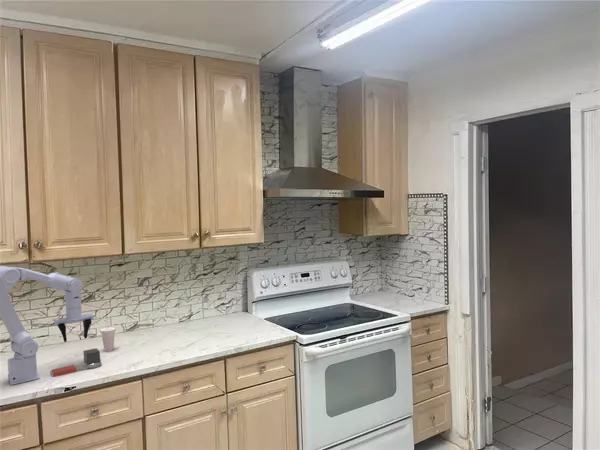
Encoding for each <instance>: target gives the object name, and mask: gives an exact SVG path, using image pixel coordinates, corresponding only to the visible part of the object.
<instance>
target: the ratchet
mask: <svg viewBox="0 0 600 450" xmlns="http://www.w3.org/2000/svg"><path fill="white" fill-rule="evenodd" d="M102 365H103V364H102V360H101V359H100V362H98V363H94V364H89V365H87V364H86V363H85V362H84V361H83V363H82V364H81V363H80V364H77V365H76V364H72V365H68V366H67V365H66V366H62V367H58V368H54V369H51V371H50V376H51V377H52V378H55V377H60V376H64V375H68V374H72V373H73V374H74V373H77V372H80V371H86V370H93V369H94V370H95V369H97V368H100V367H102Z"/></svg>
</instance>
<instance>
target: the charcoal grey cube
mask: <svg viewBox="0 0 600 450" xmlns="http://www.w3.org/2000/svg"><path fill="white" fill-rule="evenodd" d="M82 351H83V352H82V353H83V363H84V362H85V363H86V364H87V365H89V364H94V363H98V362H100V360H101V351H100V349H98V348H97V347H96V348H91V349H86V350H82Z"/></svg>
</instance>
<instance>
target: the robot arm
mask: <svg viewBox="0 0 600 450" xmlns="http://www.w3.org/2000/svg"><path fill="white" fill-rule="evenodd" d="M26 279H28V280H32V281H35V282H36V281H38V282H41V283H45V285H46V287H49V288H52V289H56V290H61V291H65V292H64V293H65V295H64V296H65V316H66V317H63V318H58V319H55V320H53V322H54V326H55V327H56V326H57V327H58V329H59V331H60V333H61V336H62V338H63V342H64V343H67V341H68V340H67V326H66V324H71V323H77V322H79V323H80V322H82V325H83V338H84V339H87V338H88V332H89V329H90V326H91V325H92V321H93V320H94V317H95V316H94V314H93V313H91V314H83V310H82V308H83V307H82V290H83V288H84V284H83V283H82V281H81V280H80V279H79V278H75V277H72V276H71V275H64V274H61V272H57V271H55V272H50V273H48V274H45V273H43V272H40V271H35V270H31V269H27V268H23V267H17V266H6V265H0V319H1V321H2V323H3V324H4V326H5V328H6V330H7V332H8V334H9V340H10V348H11V351H12V352H14V353H13V357H11V358H8V359H7V378H8V382H9V383H10V386H12V385H17V384H21V383H25V382H26V383H27V382H30V381H31V382H32V381H34V380H39V379H41V378H40V375H39V373H38V367H37V365H38V364H37V352H38V350H39V344H38V342H37V341H36V340H35V339H33V338H32V336H31V335H30V334H29V332H28V331H26V328H25V327H24V325H23V323H22V321H21V319H20V318H19V315H18V313H17V312H16V310H15V307H14V305H13V303H12V302H11V299H10V297H9V296H8V294H9V292H10V291H11V289H12V287H14V286H15V285H16V284H17V283H18V282H19V281H20V282H21V281H25V280H26Z"/></svg>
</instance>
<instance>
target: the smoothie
mask: <svg viewBox="0 0 600 450" xmlns="http://www.w3.org/2000/svg"><path fill="white" fill-rule="evenodd" d="M100 333H101V338H102V339H101V340H102V344H103V345H102V346H103V349H104V352H106V353H107V352H112V351H114V346H115V335H116V327H113V326H109V327H108V320H107V319H105V327H103V328H101V329H100Z"/></svg>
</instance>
